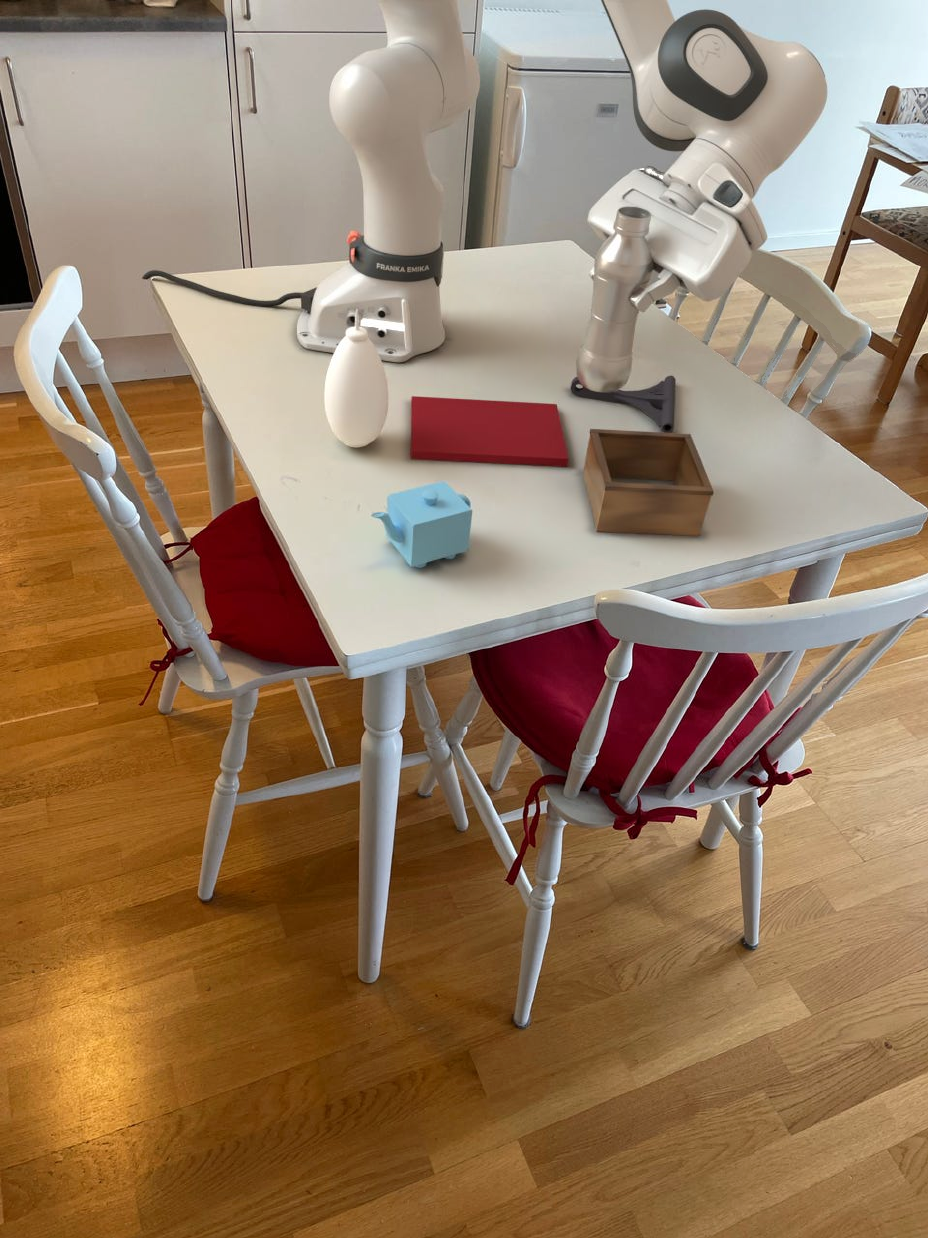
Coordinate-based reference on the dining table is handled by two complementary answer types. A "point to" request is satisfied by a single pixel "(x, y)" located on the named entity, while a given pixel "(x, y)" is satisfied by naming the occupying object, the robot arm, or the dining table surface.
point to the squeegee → (641, 400)
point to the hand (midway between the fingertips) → (614, 293)
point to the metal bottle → (615, 303)
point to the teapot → (427, 523)
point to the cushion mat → (487, 431)
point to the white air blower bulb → (356, 389)
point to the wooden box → (646, 503)
